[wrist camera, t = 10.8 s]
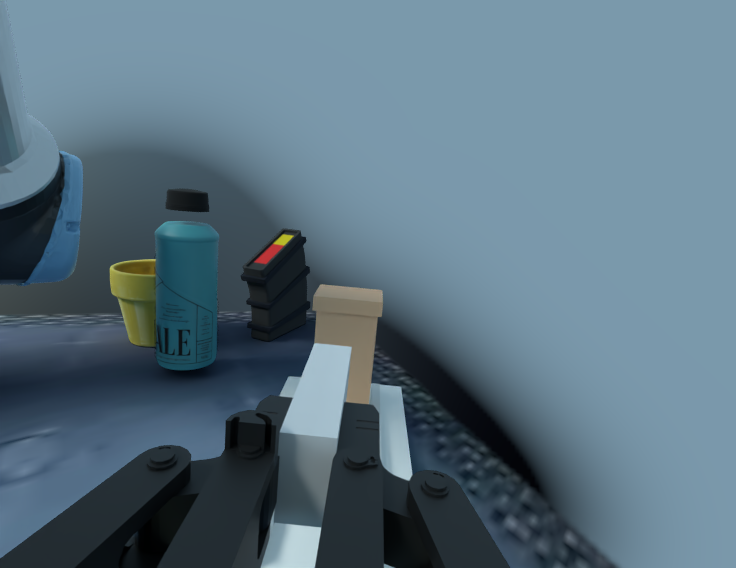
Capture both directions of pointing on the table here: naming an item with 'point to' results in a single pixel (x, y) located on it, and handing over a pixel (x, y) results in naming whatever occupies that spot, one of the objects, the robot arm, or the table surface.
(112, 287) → the plant pot
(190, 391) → the table surface
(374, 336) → the switch tab
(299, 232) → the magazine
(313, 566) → the switch panel
